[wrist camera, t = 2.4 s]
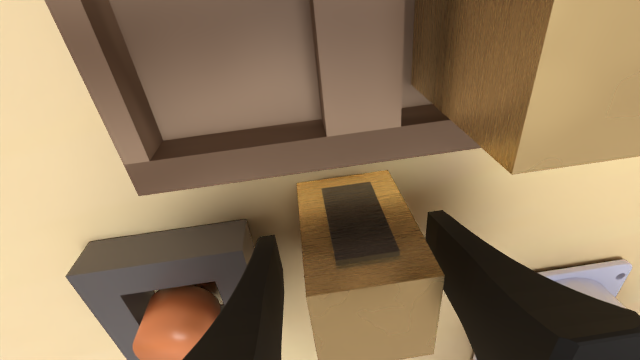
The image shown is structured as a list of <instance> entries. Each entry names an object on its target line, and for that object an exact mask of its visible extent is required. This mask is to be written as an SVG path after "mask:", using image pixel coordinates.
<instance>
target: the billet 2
mask: <svg viewBox="0 0 640 360" xmlns="http://www.w3.org/2000/svg"><path fill="white" fill-rule="evenodd" d="M411 85H412V86H413V87H414V88H415V89H416V90H417V91H419V92H420V93H421V94H422V95H423V96H424V97H425V98H426V99H428V100H429V101H430V102H431V103H432V104H433V105H434V106H435V107H437V108H438V109H439V110H440V111H441V112H442V113H443V114H444V115H446V116H447V117H448V118H449V119H450V120H451V121H452V122H453V123H455V124H456V125H457V126H458V127H459V128H460V129H461V130H462V131H464V132H465V133H466V134H467V135H468V136H469V137H470V138H471V139H473V140H474V141H475V142H476V143H477V144H478V145H479V146H480V147H481V148H483V149H484V150H485V151H486V152H487V153H488V154H489V155H490V156H492V157H493V158H494V159H495V160H496V161H497V162H498V163H499V164H501V165H502V166H503V167H504V168H505V169H506V170H507V171H508V172H510V173H511V174H512V175H513V174H520V173H527V172H534V171H540V170H547V169H554V168H561V167H568V166H575V165H582V164H589V163H596V162H603V161H610V160H617V159H624V158H631V157H638V156H640V0H415V10H414V32H413V54H412V77H411Z"/></svg>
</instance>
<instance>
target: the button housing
mask: <svg viewBox="0 0 640 360" xmlns="http://www.w3.org/2000/svg"><path fill="white" fill-rule="evenodd" d="M253 251H254V245H253V241H252V238H251V234H250V231H249V227H248V223H247V220H246V219H244V220H237V221H230V222H223V223H216V224H209V225H202V226H195V227H189V228H182V229H175V230H168V231H161V232H154V233H147V234H140V235H133V236H126V237H119V238H113V239H106V240H99V241H92V242H89V243H88V245H87V246H86V247H85V249H84V250H83V252H82V253H81V255H80V256H79V258H78V259H77V261H76V262H75V263H74V265H73V266H72V268H71V269H70V271H69V272H68V274H67V275H66V276H65V277H66V278H67V279H68V281H69V282H70V283H71V285H72V286H73V287H74V289H75V290H76V291H77V293H78V294H79V295H80V297H81V298H82V299H83V301H84V302H85V303H86V305H87V306H88V308H89V309H90V310H91V312H92V313H93V314H94V316H95V317H96V318H97V320H98V321H99V322H100V324H101V325H102V326H103V328H104V329H105V330H106V332H107V333H108V334H109V336H110V337H111V339H112V340H113V341H114V343H115V344H116V345H117V347H118V348H119V349H120V351H121V352H122V353H123V355H124V356H125V357H126V359H127V360H140V359H139V358H138V357H137V356H136V355H135V353H134V351H133V342H134V339H135V337H136V334H137V331H138V329H139V326H140V324H141V321H142V319H143V316H144V313H145V311H146V308H147V306H148V303H149V300H150V298H151V297H152V296H153V294H154V291H153V290H160V289H167V288H173V287H180V286H187V285H193V284H200V283H206V282H213V281H215V283H216V285H217V288H218V290H219V293H220V295H221V298H222V300H223V303H224V305H220V306H221V310H222V309H223V307H224V306H225V304H226V303H227V301H228V300H229V298H230V296H231V295H232V293H233V291H234V289H235V288H236V286H237V284H238V282H239V280H240V279H241V277H242V275H243V273H244V271H245V269H246V266H247V264H248V262H249V260H250V258H251V256H252V253H253ZM220 312H221V311H220Z"/></svg>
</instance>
